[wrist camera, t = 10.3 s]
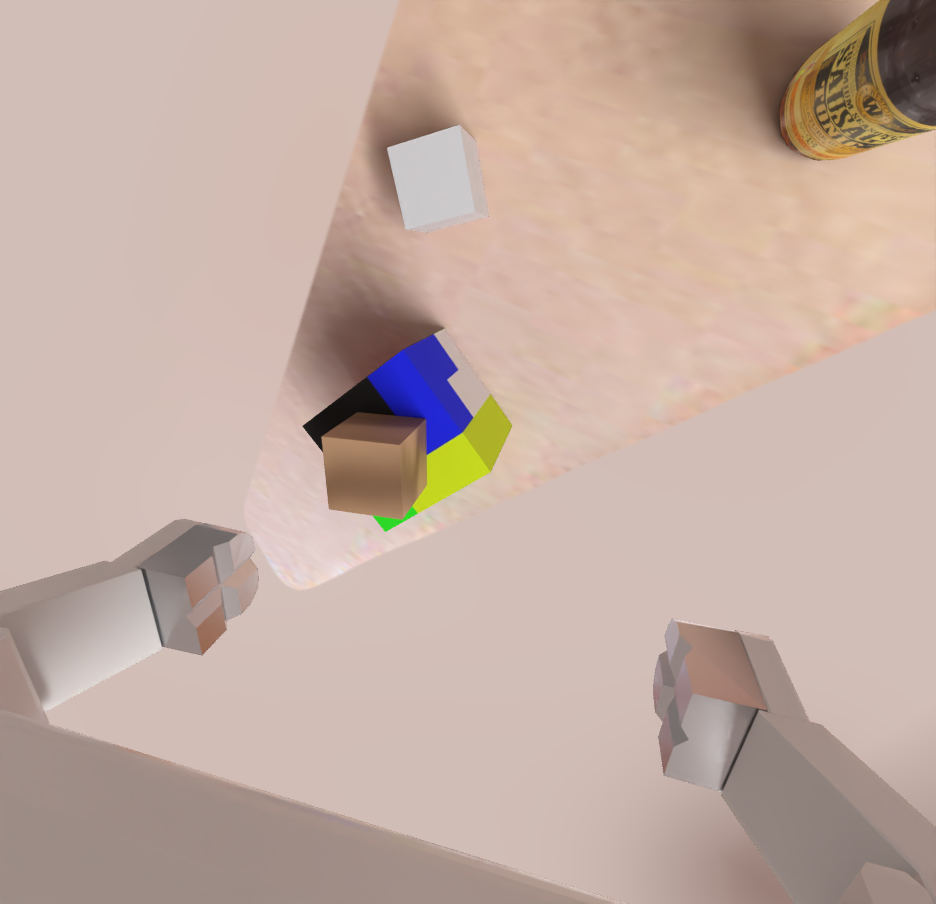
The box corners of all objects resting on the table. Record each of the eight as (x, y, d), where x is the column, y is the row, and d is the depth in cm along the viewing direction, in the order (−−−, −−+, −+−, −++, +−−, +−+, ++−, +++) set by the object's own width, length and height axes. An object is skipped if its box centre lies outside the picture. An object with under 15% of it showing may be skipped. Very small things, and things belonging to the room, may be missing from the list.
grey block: (412, 160, 36) (386, 147, 32) (476, 141, 35) (459, 124, 30) (427, 232, 38) (405, 229, 33) (489, 216, 36) (475, 211, 32)
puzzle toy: (445, 327, 40) (403, 349, 31) (512, 425, 42) (490, 472, 33) (361, 390, 44) (302, 426, 35) (425, 477, 46) (385, 531, 37)
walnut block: (357, 412, 34) (321, 436, 29) (426, 418, 33) (399, 445, 28) (362, 476, 36) (328, 509, 31) (427, 485, 35) (402, 519, 30)
